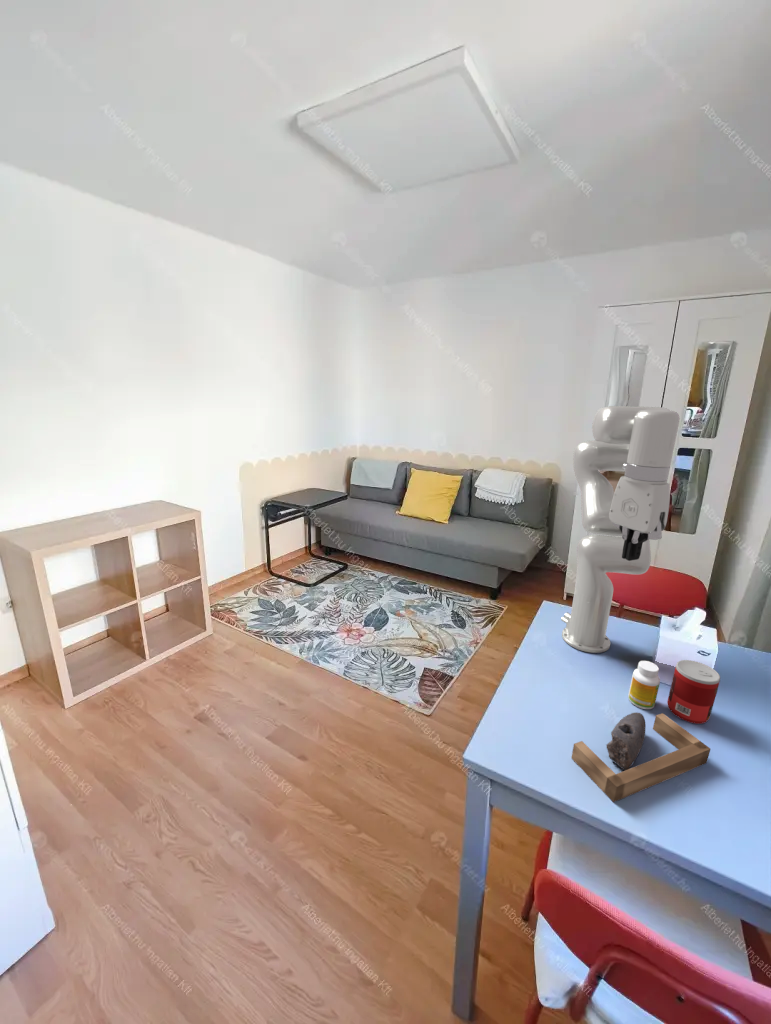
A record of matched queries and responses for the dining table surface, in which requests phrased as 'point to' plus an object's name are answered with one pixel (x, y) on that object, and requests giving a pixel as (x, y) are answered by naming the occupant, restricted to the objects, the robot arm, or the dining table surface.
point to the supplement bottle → (644, 685)
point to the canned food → (693, 691)
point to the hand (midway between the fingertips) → (630, 558)
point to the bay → (647, 773)
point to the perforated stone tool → (627, 740)
